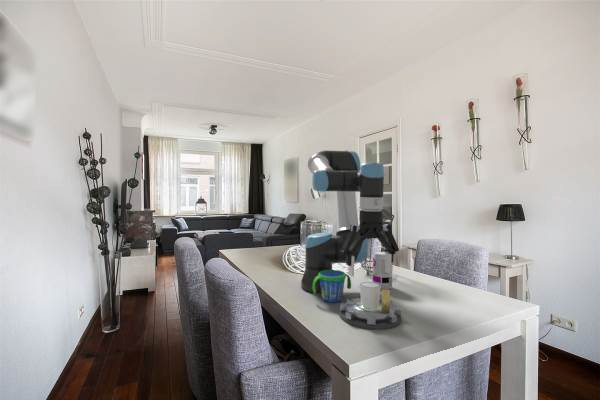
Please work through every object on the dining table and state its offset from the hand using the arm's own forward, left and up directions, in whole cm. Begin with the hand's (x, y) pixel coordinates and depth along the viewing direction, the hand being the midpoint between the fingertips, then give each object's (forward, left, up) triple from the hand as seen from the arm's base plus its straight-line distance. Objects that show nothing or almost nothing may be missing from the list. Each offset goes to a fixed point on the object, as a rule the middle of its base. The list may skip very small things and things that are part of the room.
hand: (369, 273), depth 99 cm
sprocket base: (0, 0, -14) cm, 14 cm away
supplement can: (-4, +33, -14) cm, 36 cm away
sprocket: (0, 0, -13) cm, 13 cm away
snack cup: (-17, +8, -14) cm, 23 cm away
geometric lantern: (-12, +53, -14) cm, 56 cm away
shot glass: (0, 0, -11) cm, 11 cm away
